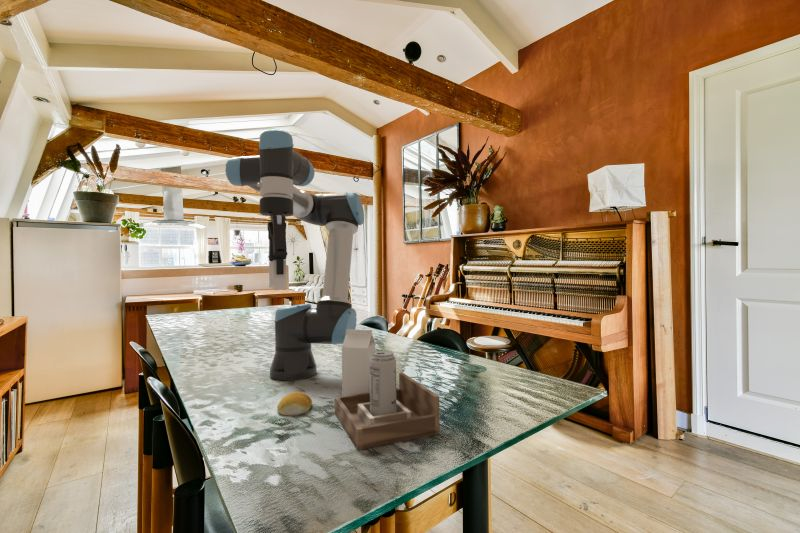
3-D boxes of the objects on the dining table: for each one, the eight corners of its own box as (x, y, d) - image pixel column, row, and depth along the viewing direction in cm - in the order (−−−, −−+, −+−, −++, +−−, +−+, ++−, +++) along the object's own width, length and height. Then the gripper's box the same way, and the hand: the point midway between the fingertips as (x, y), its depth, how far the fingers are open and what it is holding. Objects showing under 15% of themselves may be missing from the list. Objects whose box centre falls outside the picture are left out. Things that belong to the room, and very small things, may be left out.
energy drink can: (399, 422, 83) (398, 355, 83) (372, 425, 82) (371, 356, 82) (393, 412, 89) (393, 349, 89) (368, 415, 88) (367, 350, 88)
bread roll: (313, 402, 100) (313, 387, 100) (309, 415, 91) (309, 399, 91) (281, 404, 99) (281, 388, 99) (273, 417, 90) (273, 400, 90)
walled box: (334, 413, 91) (334, 380, 91) (402, 403, 98) (402, 372, 98) (357, 450, 73) (357, 409, 73) (439, 434, 80) (439, 396, 80)
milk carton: (368, 407, 96) (368, 332, 96) (342, 405, 97) (341, 331, 97) (375, 397, 103) (375, 328, 103) (351, 396, 104) (350, 327, 104)
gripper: (257, 205, 99) (258, 286, 99) (261, 186, 76) (262, 291, 76) (287, 207, 102) (288, 286, 101) (300, 189, 79) (300, 290, 78)
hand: (277, 288), depth 88 cm, fingers open, 13 cm apart
